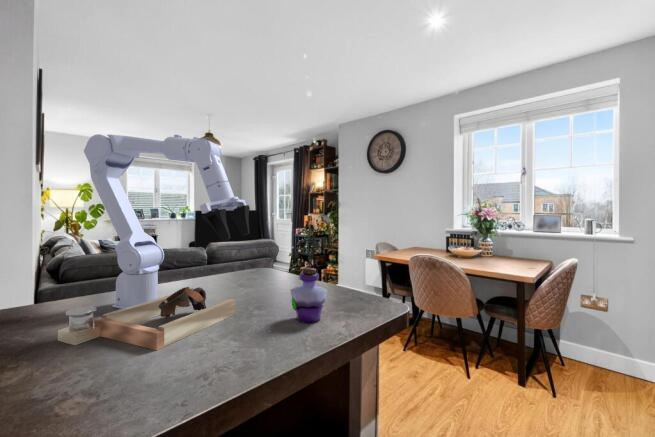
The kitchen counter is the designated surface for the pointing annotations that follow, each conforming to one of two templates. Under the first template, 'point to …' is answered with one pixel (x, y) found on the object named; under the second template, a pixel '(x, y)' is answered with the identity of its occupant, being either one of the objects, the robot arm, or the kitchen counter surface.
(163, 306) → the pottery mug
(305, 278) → the potion bottle
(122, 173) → the robot arm
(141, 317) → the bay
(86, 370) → the kitchen counter surface
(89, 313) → the winch drum
